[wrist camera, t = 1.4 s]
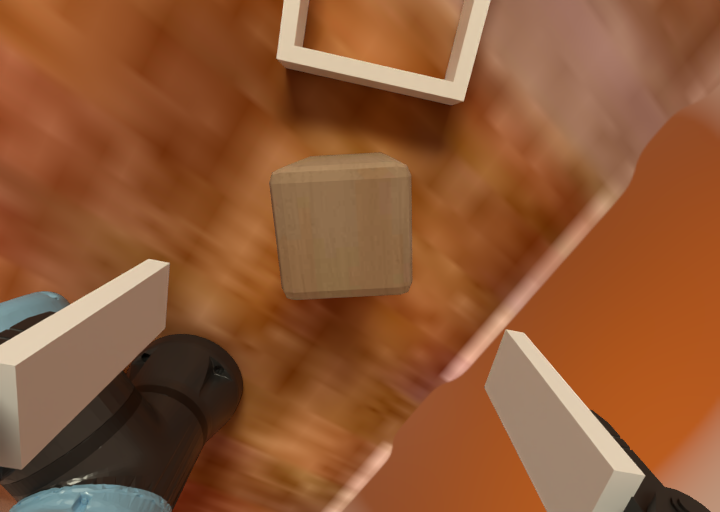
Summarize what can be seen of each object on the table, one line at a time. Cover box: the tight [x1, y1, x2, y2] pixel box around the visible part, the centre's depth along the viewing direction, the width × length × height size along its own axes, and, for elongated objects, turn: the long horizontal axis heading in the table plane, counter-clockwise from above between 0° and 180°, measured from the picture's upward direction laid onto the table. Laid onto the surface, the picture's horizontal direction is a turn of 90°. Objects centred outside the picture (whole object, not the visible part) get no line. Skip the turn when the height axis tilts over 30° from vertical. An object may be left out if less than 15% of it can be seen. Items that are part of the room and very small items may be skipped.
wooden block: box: [269, 153, 412, 300], centre depth 36 cm, size 10×10×20 cm
